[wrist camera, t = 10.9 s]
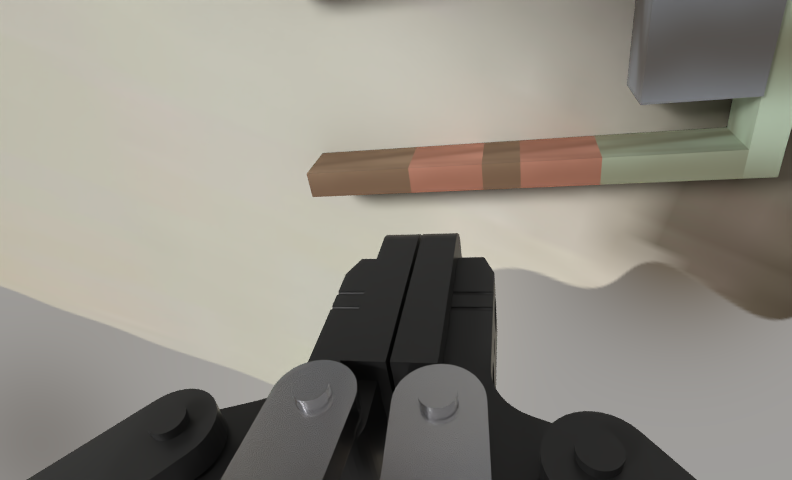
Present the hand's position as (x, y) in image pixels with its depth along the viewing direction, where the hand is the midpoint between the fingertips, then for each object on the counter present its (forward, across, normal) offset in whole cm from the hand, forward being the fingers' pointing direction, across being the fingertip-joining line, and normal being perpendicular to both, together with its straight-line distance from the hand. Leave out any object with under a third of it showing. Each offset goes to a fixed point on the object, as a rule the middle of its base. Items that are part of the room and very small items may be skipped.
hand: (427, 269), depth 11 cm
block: (+20, -10, 0) cm, 22 cm away
